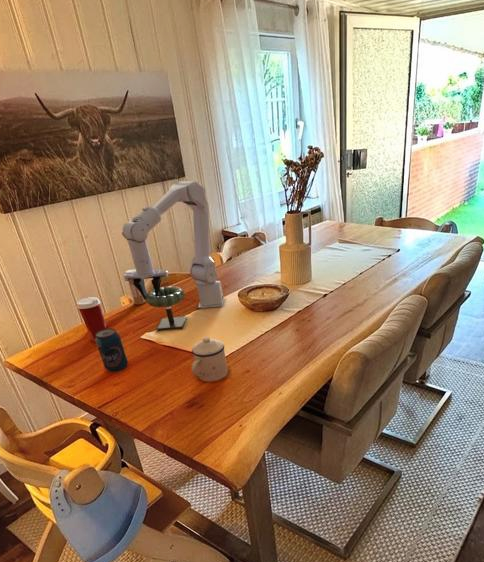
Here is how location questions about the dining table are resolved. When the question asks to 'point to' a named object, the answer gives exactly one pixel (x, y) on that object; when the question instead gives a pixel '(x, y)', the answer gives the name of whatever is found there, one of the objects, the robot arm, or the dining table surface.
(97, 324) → the paper cup
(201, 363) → the teacup with lid
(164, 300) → the ring
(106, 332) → the soda can
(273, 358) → the dining table surface
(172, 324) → the holder
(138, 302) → the sprinkles bottle
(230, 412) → the dining table surface
